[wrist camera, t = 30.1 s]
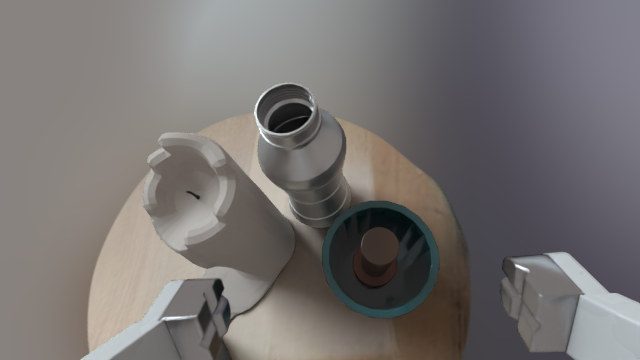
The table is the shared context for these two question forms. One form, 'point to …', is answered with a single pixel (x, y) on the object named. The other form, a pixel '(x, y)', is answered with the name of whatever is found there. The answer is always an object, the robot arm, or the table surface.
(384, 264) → the rod with orange collar
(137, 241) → the table surface
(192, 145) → the candle
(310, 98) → the silver metal bottle
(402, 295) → the teal cup
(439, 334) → the table surface
